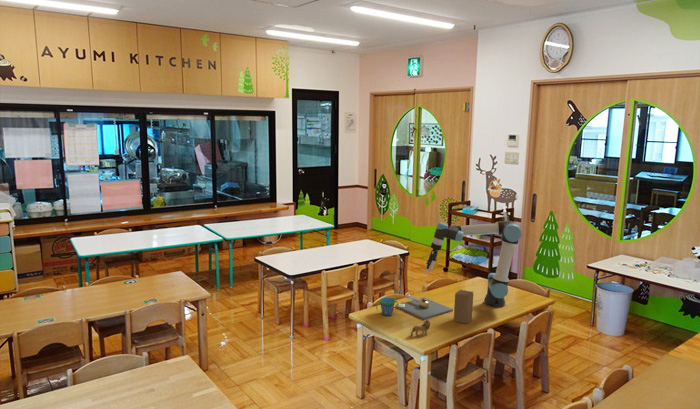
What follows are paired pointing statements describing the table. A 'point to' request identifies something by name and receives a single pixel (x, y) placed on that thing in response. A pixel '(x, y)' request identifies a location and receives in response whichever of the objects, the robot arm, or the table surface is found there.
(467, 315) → the wooden block
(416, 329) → the lion figurine
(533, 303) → the table surface
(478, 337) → the table surface
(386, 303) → the snack cup
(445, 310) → the dial plate
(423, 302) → the brass ladle
